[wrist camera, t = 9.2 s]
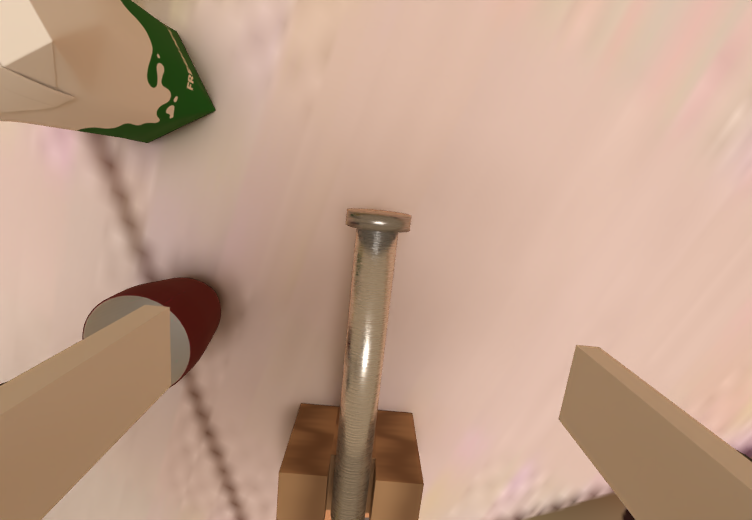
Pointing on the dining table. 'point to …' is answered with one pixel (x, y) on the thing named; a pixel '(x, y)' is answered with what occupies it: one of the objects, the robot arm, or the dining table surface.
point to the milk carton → (96, 69)
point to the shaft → (364, 355)
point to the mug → (187, 316)
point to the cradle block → (317, 463)
